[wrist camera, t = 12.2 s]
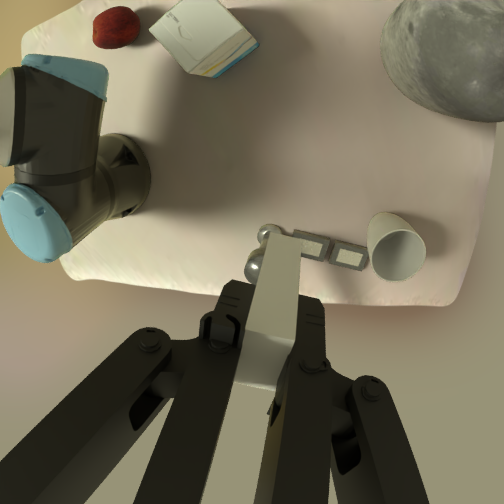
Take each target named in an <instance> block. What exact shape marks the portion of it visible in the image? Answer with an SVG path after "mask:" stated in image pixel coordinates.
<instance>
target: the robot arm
mask: <svg viewBox="0 0 504 504" xmlns="http://www.w3.org/2000/svg"><path fill="white" fill-rule="evenodd" d="M21 64H22V66H21V67H10V68H7V69H6V70H5V71H4V72H3V73H2V74H1V75H0V165H2V166H3V167H7V166H12V165H14V169H15V170H14V171H15V174H14V176H15V182H14V183H13V184H10V185H9V186H8V187H7V188H6V190H4V192H3V195H2V196H1V199H0V212H1V217H2V220H3V223H4V226H5V228H6V230H7V232H8V234H9V236H10V237H11V239H12V240H13V242H14V243H15V244H16V246H17V247H18V248H19V249H20V250H21V251H22V252H23V253H24V254H25V255H27V256H28V257H30V258H31V259H33V260H35V261H38V262H42V263H49V262H53V261H55V260H56V259H58V258H59V257H60V256H62V255H63V254H65V253H67V252H69V251H70V250H71V249H72V248H73V247H74V246H75V245H77V244H78V243H79V242H80V241H81V240H82V239H84V238H85V237H86V236H87V235H88V234H90V233H91V232H92V231H93V230H94V229H96V228H97V227H98V226H99V225H100V224H102V223H103V222H104V221H107V220H113V219H118V218H123V217H125V216H128V215H130V214H131V213H133V212H134V211H135V210H136V209H138V208H139V207H140V206H141V205H142V204H143V202H144V201H145V199H146V197H147V195H148V192H149V189H150V182H151V177H150V169H149V165H148V162H147V159H146V157H145V155H144V153H143V152H142V150H141V149H140V148H139V146H138V145H137V144H136V143H135V142H133V141H132V140H131V139H129V138H127V137H125V136H123V135H120V134H106V135H103V136H100V131H101V124H102V118H103V112H104V106H105V102H107V97H106V92H107V86H108V80H109V73H108V70H107V68H106V67H105V66H104V65H102V64H99V63H95V62H91V61H86V60H81V59H75V58H68V57H61V56H51V55H41V54H28V55H26V56H25V57H24V59H23V61H22V62H21ZM301 240H302V239H298V238H294V237H290V236H286V235H282V234H277V233H273V232H270V235H269V239H268V243H267V247H266V251H265V254H264V258H263V262H262V266H261V270H260V273H259V277H258V281H257V285H253V284H249V283H245V282H241V281H237V280H233V279H232V280H231V281H230V282H228V283H227V284H226V285H224V287H223V290H222V292H221V295H220V297H219V299H218V302H217V304H216V307H215V309H214V311H211V312H209V313H206V314H205V315H204V316H203V317H202V318H201V320H200V329H199V336H198V337H197V338H194V339H190V340H171V339H170V337H169V335H168V334H167V333H165V332H164V331H163V330H160V329H157V328H152V327H151V328H150V327H146V328H142V329H139V330H137V331H136V332H134V333H133V334H132V335H130V336H129V338H127V339H126V340H125V341H124V342H123V343H122V344H121V345H120V346H119V347H118V348H117V349H116V350H114V352H112V353H111V354H110V355H109V356H108V357H107V358H106V359H105V360H104V361H103V362H102V363H101V364H100V365H99V366H98V367H97V368H95V369H94V370H93V371H92V372H91V373H90V374H89V375H88V376H87V377H86V378H85V379H84V380H83V381H82V382H81V383H80V384H79V385H78V386H76V387H75V388H74V389H73V390H72V391H71V392H70V393H69V394H68V395H67V396H66V397H65V398H64V399H63V400H62V401H61V402H60V403H59V404H58V405H57V406H56V407H55V408H54V409H53V410H52V411H51V412H50V413H49V414H48V415H47V416H45V418H44V419H42V420H41V422H40V423H38V424H37V425H36V427H34V428H33V429H32V430H31V431H30V432H29V433H28V434H27V435H26V436H25V437H24V438H23V439H22V440H21V441H20V442H19V443H18V444H17V445H16V446H15V447H14V448H13V449H12V450H11V451H10V452H9V453H8V454H7V455H6V456H5V457H4V458H3V459H2V460H1V462H0V504H84V503H85V502H86V500H88V498H89V497H90V496H91V495H92V494H93V492H94V491H95V490H96V489H97V488H98V487H99V485H100V484H101V483H102V482H103V481H104V479H105V478H106V477H107V476H108V475H109V473H110V472H111V471H112V470H113V468H114V467H115V466H116V465H117V464H118V463H119V461H120V460H121V459H122V458H123V457H124V455H125V454H126V453H127V452H128V450H129V449H130V448H131V447H132V445H133V444H134V443H135V442H136V441H137V439H138V438H139V437H140V436H141V434H142V433H143V432H144V431H145V430H146V428H147V427H148V426H149V424H150V423H151V422H152V421H153V419H154V418H155V417H156V416H157V415H158V413H159V412H160V411H161V410H162V408H163V407H164V406H165V404H166V403H167V402H168V401H169V400H170V398H174V400H173V403H172V406H171V408H170V411H169V413H168V415H167V418H166V420H165V423H164V425H163V428H162V430H161V433H160V435H159V438H158V441H157V443H156V446H155V448H154V451H153V453H152V456H151V458H150V461H149V463H148V466H147V469H146V471H145V474H144V476H143V479H142V481H141V484H140V487H139V489H138V492H137V494H136V497H135V500H134V502H133V504H201V500H202V496H203V493H204V489H205V486H206V482H207V479H208V475H209V471H210V468H211V464H212V460H213V457H214V453H215V450H216V446H217V442H218V438H219V435H220V431H221V427H222V424H223V420H224V416H225V412H226V409H227V405H228V401H229V397H230V393H231V389H232V385H233V382H236V383H240V384H244V385H248V386H253V387H257V388H262V389H266V390H271V391H274V390H275V388H276V393H275V397H274V399H273V401H272V404H271V406H270V408H269V410H268V412H267V414H268V415H270V417H269V422H268V428H267V435H266V440H265V446H264V451H263V457H262V462H261V468H260V473H259V479H258V484H257V489H256V494H255V499H254V504H328V497H329V496H328V495H329V482H330V480H329V479H330V468H331V472H332V477H333V482H334V486H335V491H336V495H337V500H338V504H429V501H428V498H427V494H426V491H425V488H424V485H423V482H422V479H421V476H420V473H419V470H418V467H417V464H416V461H415V458H414V455H413V452H412V450H411V447H410V444H409V441H408V439H407V436H406V433H405V430H404V428H403V425H402V423H401V420H400V417H399V415H398V412H397V410H396V407H395V404H394V402H393V399H392V397H391V394H390V392H389V390H388V388H387V386H386V385H385V383H383V382H382V381H381V380H380V379H378V378H376V377H373V376H367V375H365V376H361V377H358V378H357V379H356V380H355V381H354V380H351V379H349V378H347V377H345V376H343V375H341V374H339V373H337V372H336V371H335V370H334V369H332V368H331V365H330V362H329V360H328V359H327V358H326V350H325V349H326V347H325V346H326V345H325V313H324V311H325V310H324V307H323V305H322V303H321V301H320V300H319V299H317V298H312V297H308V296H304V295H299V279H300V261H301ZM276 385H277V386H276Z"/></svg>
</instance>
